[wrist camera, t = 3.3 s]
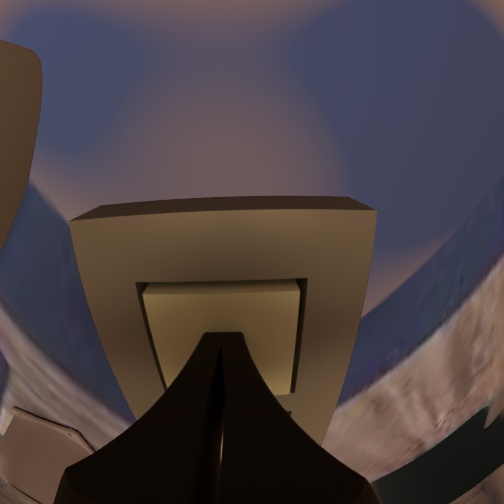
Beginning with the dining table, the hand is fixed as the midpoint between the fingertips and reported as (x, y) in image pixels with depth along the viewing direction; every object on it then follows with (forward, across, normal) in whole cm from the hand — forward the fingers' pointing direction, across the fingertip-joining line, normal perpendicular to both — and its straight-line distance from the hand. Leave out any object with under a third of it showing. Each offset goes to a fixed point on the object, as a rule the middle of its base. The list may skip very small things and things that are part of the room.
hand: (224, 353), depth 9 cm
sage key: (+2, 0, 0) cm, 2 cm away
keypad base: (+3, 0, +7) cm, 8 cm away
